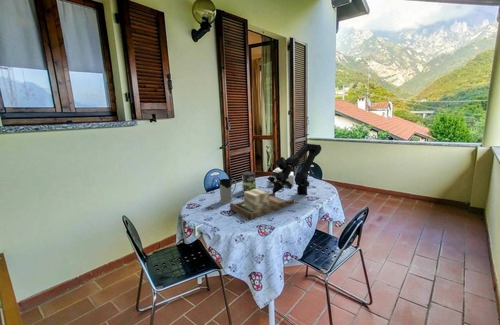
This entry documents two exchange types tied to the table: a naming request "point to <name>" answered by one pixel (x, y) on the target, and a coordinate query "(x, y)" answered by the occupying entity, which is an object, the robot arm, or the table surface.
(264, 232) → the table surface
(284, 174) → the robot arm
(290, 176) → the butter dish
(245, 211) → the trap lane
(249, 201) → the birch block
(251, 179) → the coffee can
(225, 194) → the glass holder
